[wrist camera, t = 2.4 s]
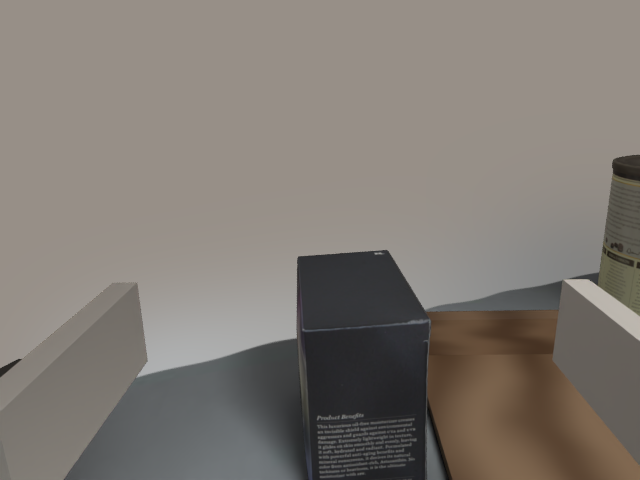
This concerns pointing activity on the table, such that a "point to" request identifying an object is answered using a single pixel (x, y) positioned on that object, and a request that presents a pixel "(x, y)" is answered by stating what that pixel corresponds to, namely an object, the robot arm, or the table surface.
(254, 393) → the table surface
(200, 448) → the table surface
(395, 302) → the small box
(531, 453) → the corner tray
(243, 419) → the table surface
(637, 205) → the coffee can
